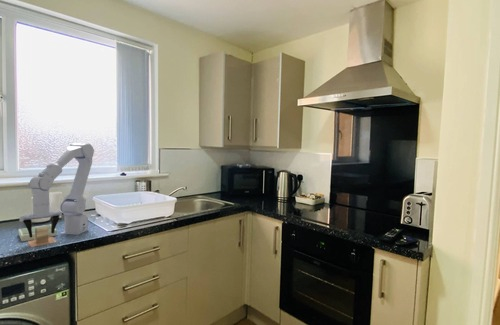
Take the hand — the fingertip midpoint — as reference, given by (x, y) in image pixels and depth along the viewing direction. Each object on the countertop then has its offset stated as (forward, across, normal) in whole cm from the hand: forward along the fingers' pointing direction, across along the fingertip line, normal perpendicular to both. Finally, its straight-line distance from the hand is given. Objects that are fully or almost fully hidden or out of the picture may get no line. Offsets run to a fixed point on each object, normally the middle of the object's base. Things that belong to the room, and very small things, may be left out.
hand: (42, 234), depth 119 cm
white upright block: (+4, -13, -43) cm, 45 cm away
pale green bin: (+3, 0, -12) cm, 13 cm away
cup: (+4, -5, -38) cm, 39 cm away
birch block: (+3, 0, 0) cm, 3 cm away
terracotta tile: (+3, 0, 0) cm, 3 cm away
